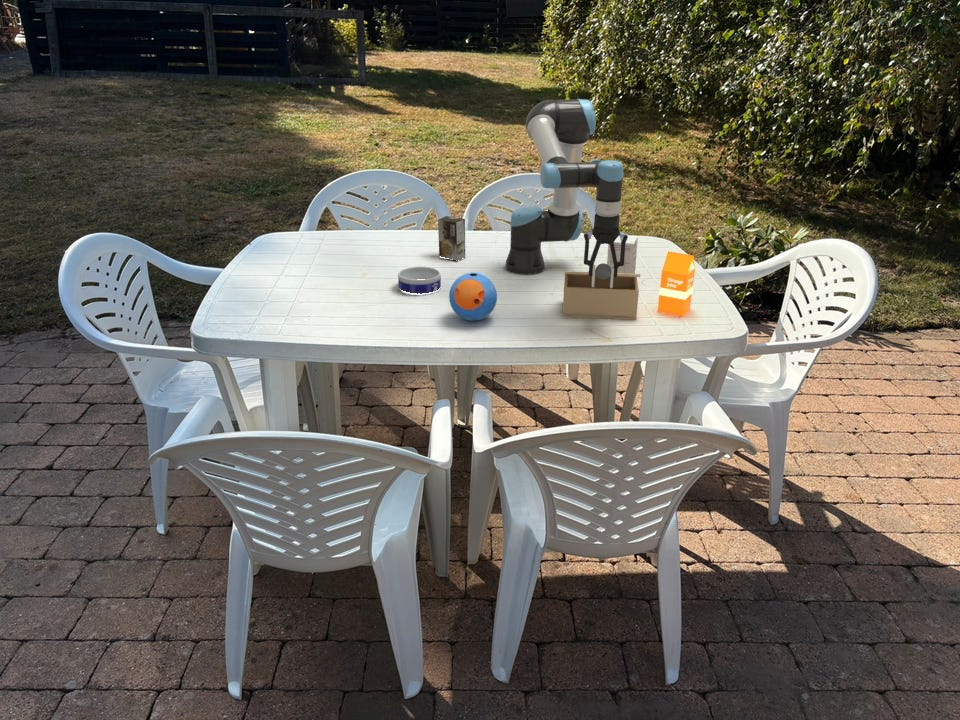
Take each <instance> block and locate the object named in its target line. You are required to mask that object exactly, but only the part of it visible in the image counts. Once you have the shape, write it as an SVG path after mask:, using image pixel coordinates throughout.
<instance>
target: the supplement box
mask: <svg viewBox="0 0 960 720" xmlns="http://www.w3.org/2000/svg"><path fill="white" fill-rule="evenodd" d="M638 239H639V237H638V236H632V235H631V236H630V235H628V239H627V241H626V243H625V257H624V266H620V267H618V271H617V273H627V274H636V267H637V266H636V265H637V254H638V251H637V250H638ZM614 247H615V252H616V257H617V262H618V261H620V252H621V240H620V236H618V237H617V239H616V240H615V241H614ZM606 259H607V260H606V264H607V265H609V266H610V268H611V265H613V266H614V264H613V258H612V253H611V248H610V244H607V258H606Z"/></svg>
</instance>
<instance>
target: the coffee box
mask: <svg viewBox="0 0 960 720" xmlns="http://www.w3.org/2000/svg"><path fill="white" fill-rule="evenodd" d="M437 227H438V229H437V230H438V231H437V233H438V256H441V257H445V258H449V259H453V260H457V261H458V260H460V259H462V258H464V259H466V218H461V217H455V216H448V215H446V216H443V217H441V218H439V219H437ZM462 260H463V259H462ZM460 261H461V260H460ZM458 262H459V261H458Z"/></svg>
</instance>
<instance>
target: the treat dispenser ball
mask: <svg viewBox="0 0 960 720" xmlns="http://www.w3.org/2000/svg"><path fill="white" fill-rule="evenodd" d="M448 294H449V296H448V299H449V301H448V302H449V304H450V307H451V308H452V309H451V310H452V311H453V312H454V313H455V314H456V316H458V317H459V318H461V319H463V320H465V321H470V322H472V321H473V322H474V321H481V320H483V319H485V318H487V317H488V316H489V315H491V314H492V312H493V311H494V309H495V307H496V305H497V301H498V292H497V288H496V286H495V284H494V283H493V281H492V280H491V279H490V278H489V277H488V276H487V275H484V274H482V273H479V272H467V273H465V274H462V275H460V276H459V277H458V278H456V279H455V280H454V282H453V283H452V285H451V286H450V289H449V293H448Z"/></svg>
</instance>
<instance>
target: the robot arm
mask: <svg viewBox="0 0 960 720" xmlns="http://www.w3.org/2000/svg"><path fill="white" fill-rule="evenodd" d="M596 119H597V118H596V112H595V108H594V104H593V103H592V102H591V101H590V100H589V99H581V98H576V99H575V98H574V99H573V98H571V99H547V100H543V101H540V102H538V103H537V104H536V105H534V106H533V107H532V108H531V109H530V111H529V112H528V114H527V117H526V120H525V130H526V133H527V135H528V137H529V138H530V139H531V140H532V141H533V142H534V145H535V147H536V149H537V153H538V155H539V157H540V161H541V163H542V165H541V167H540V172H539V175H540V178H539V179H540V184H541V186H542V187H543V188H544V189H553V197H552V201H551V202H550V203H549V204H548V207H547V210H543V208H541V207H540V206H536V205H535V206H533V205H530V206H524V207H520V208H517V209H515V210H514V211H513V212H512V213H511V215H510V223H509V224H510V249H509V251H508V255H507V257H506V261H505V270H506V271H507V270H508V272H509V271H510V273H513V274H516V273H517V274H518V275H534V274H535V275H536V274H540V273H542V272H543V271H544V270H546V269H545V264H546V263H545V259H544V257H543V252H542V248H541V247H542V243H544V242H545V243H549V242H552V243H554V242H571V241H576V240H578V238H579V237H580V235H581V233H582V230H583V220H584V215H583V212H582V210H580V207H579V205H578V204H577V197H578V189H579V188H596V190H595V193H596V194H595V202H594V203H595V205H594V211H595V214H594V222H593V228H592V230H590V231H588V232H587V231H584V233H583V238H584V253H583V265H587V266H588V267H589V268H588V272H589V276H592V287H594V282H595V269H596V264H595V261H596V258H597V255H598V253H599V250H600V247H601V245H604V244H605V245H608V244H610V248H611V253H612V258H613V264H614V266H613V265H611V277H610V288H613V277H617V271H618V267H620V266H624V257H625V243H626V241H627V239H628V236H629V235H628V233H626V232H625V233H624V232H621V231H620V217H621V216H620V213H621V204H622V192H623V182H624V181H623V180H624V174H625V173H624V164H623V163H622V162H621V161H618V160H613V159H612V160H611V159H608V160H607V159H606V160H602V159H592V160H590V161H589V162H588V161H586V162H585V161H584V162H582V157H583V148H584V145H585V144H586V143H587V142H589V136H591V135H593V134H595V131H596V128H597V127H596V124H597V123H596V122H597V121H596ZM592 236H593V237H594V239H595V241H596V242H595V245H594V248H593V251H592V254H591V257H590V259H589V253H590V251H589V250H590V240H591V239H592ZM618 236H620V240H621V252H620V261H618V262H617V257H616V252H615V247H614V241H615V240H616V239H617V237H618ZM517 274H516V275H517Z"/></svg>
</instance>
